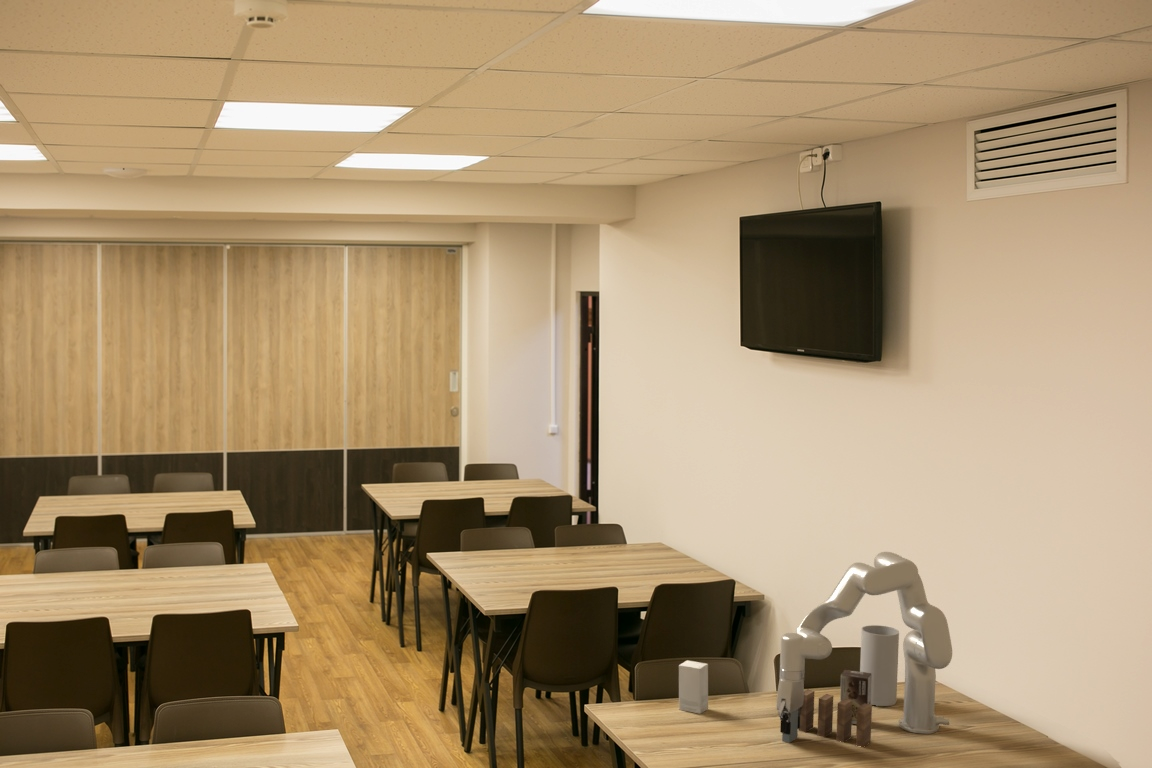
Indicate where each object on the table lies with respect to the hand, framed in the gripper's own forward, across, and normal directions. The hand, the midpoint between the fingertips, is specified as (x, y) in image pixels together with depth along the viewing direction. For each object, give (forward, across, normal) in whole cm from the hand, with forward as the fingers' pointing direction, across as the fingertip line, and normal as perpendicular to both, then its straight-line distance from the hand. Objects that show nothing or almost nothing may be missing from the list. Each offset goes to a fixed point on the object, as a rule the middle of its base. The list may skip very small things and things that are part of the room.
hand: (790, 730), depth 348 cm
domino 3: (+3, -12, +13) cm, 18 cm away
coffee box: (+3, -28, +9) cm, 30 cm away
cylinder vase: (+3, -52, +7) cm, 53 cm away
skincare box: (+3, -3, -37) cm, 38 cm away
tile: (+3, 0, 0) cm, 3 cm away
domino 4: (+3, -12, +19) cm, 23 cm away
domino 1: (+3, -12, 0) cm, 12 cm away
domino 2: (+3, -12, +6) cm, 14 cm away
